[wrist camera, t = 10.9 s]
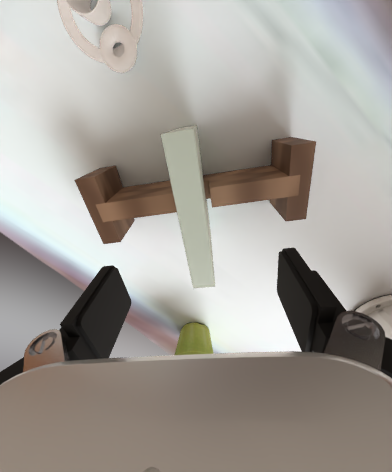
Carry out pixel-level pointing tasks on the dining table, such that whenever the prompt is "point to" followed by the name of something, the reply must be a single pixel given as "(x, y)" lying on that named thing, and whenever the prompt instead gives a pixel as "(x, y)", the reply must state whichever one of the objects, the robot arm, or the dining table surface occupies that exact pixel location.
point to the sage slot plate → (190, 201)
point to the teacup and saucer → (105, 32)
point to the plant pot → (194, 340)
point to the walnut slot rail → (216, 187)
